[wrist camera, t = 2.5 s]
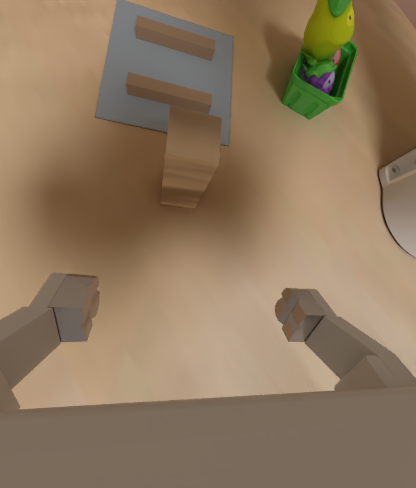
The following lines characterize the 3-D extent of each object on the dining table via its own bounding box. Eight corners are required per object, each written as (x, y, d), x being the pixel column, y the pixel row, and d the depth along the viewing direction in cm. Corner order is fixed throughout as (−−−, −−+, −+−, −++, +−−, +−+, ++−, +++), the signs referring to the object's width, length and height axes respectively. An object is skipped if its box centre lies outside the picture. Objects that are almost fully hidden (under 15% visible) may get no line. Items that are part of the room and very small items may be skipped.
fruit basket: (314, 131, 33) (393, 55, 22) (263, 100, 32) (321, 5, 21) (331, 78, 36) (407, -10, 25) (285, 49, 35) (345, -57, 24)
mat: (228, 146, 29) (233, 137, 27) (95, 117, 25) (91, 106, 24) (233, 37, 33) (237, 25, 31) (117, -1, 29) (115, -18, 27)
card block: (194, 209, 26) (219, 163, 16) (159, 204, 25) (165, 153, 16) (196, 178, 27) (221, 117, 17) (163, 172, 26) (170, 105, 16)
